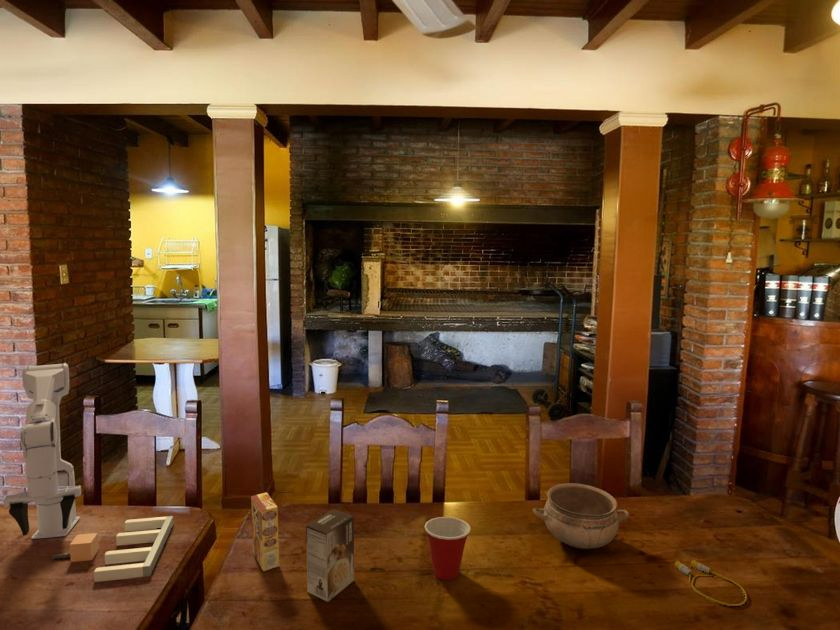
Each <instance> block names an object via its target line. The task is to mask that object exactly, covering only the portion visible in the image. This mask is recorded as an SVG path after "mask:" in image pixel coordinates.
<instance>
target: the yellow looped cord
mask: <svg viewBox="0 0 840 630" xmlns="http://www.w3.org/2000/svg"><path fill="white" fill-rule="evenodd" d="M674 567H675V568H676V569H678V571H680V572H681V573H682V574H685V575H686V576H688V582H690V581H691V582H690V584H691V587H692V589H693V591H694V592H695V593H697V594H698V595H700V596H701V595H702V598H704V597H705V598H704V599H706V600H708V601H709V600H710V601H709V602H711V601H712V603H714V602H715V603H714V604H716V603H718V604H717V605H719V604H721V605H720V606H723V605H727V606H726V607H729V606H741V605H742V604H745V602H746V601H748V600H747V599H748V594H747V592H746V590H745V589H744V588H743V586H741V585H740V584H739V583H738V582H735V581H734V580H732V579H729V578H727V577H725V576H723V575H720V574H719V573H716V572H714V571H712V570H711V568H710V567H709V566H706V565H705V564H703V563H700V562H697V561H696V560H695V559H694V560H691V561H690V565H689V567H690V568H691V567H693V568H695V569H694V570H696V569H697V570H696V571H699V570H700V572H702V571H704V572H703V573H705V572H706V574H708V575H705V574H696V575H694V576H693V578H692V576H691V575H692V570H691V569H690V568H689V567H688V566H687V565H685V564H684V563H682V562H680V561H679V560H676V561H675V563H674ZM693 568H692V569H693ZM709 572H710V573H711V574H713V576H714V577H713V578H715V577H721V578H724V579H727V580H729V581H731V582H733V583H734V585H735V584H736V585H735V586H736V587H738V586H739V587H740V588H741V589H742V591H743V592H742V591H741V592H742V594H743V593H745V594H743V596H744V595H745V597H744V600H743V601H742V602H740V603H733V604H732V603H727V602H722V601H720V600H717V599H714V598H712V597H709V596H708V595H706V594H703V593H702V592H700V591H699V590H697V589H696V588H695V586H694V582H695V579H696V578H698V576H709V575H710V573H709ZM724 579H723V580H724ZM727 580H726V581H727ZM729 581H728V582H729ZM731 582H730V583H731ZM733 583H732V584H733ZM739 587H738V588H739ZM740 588H739V589H740ZM741 589H740V590H741ZM746 603H747V602H746ZM745 605H746V604H745ZM741 607H742V606H741Z"/></svg>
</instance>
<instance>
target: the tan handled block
mask: <svg viewBox="0 0 840 630" xmlns="http://www.w3.org/2000/svg"><path fill="white" fill-rule="evenodd" d="M99 547H100V546H99V534H98V532H95V533H94V532H93V533H81V534H76V536H75V537H74V539H73V540H72V541H71V542H70V544H69V552H68V553H56V554H53V555H52V557H51V558H52V559H53V560H59V559H67V558H69V559H70V563H77V562H86V561H92V560H93V559H94V557H95V556H96V555H97V553H98V551H99Z"/></svg>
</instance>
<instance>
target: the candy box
mask: <svg viewBox="0 0 840 630" xmlns="http://www.w3.org/2000/svg"><path fill="white" fill-rule="evenodd" d="M250 500H251V504H250V505H251V525H252V526H251V527H252V529H251V530H252V531H251V532H252V549H253V555H254V557H255V559H256V560H257V563H258V564H259V566H260V568H261V570H262V572H266V571H270V570H272V569H276V568H278V567H280V544H279V541H280V540H279V516H278V515H279V513H278V512H279V507H278V505H277V504H276V503H275V502H274V500H273V498H271V496H270V495H269V493H268V492H263V493H259V494H255V495H252V496H251V497H250Z"/></svg>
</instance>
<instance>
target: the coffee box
mask: <svg viewBox="0 0 840 630" xmlns="http://www.w3.org/2000/svg"><path fill="white" fill-rule="evenodd" d="M354 521H355V518H354V515H352V514H349V513H347V512H343V511H341V510H338V509H335V508H332V509H331V510H329V511H327V512H326V513H325V514H322V515H321V516H319V517H318V518H316V519H314V520H312V521H311V522H310V523H308V524H306V525H305V526H306V527H305V529H306V578H307V579H306V583H307V584H306V586H307V587H306V589H307V591H306V592H307V593H309V594H311V595H313V596H315V597H317V598H318V599H321V600H323V601H325V602H326V603H327V602H330V601H331V600H332V599H333V598H335V597H336V596H337V595H338V594H340V593H341V592H342V591H343V590H344V589H346V588H347V587H348V586H349V585H350V584H352V583H353V582H354V581H355V524H354Z"/></svg>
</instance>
